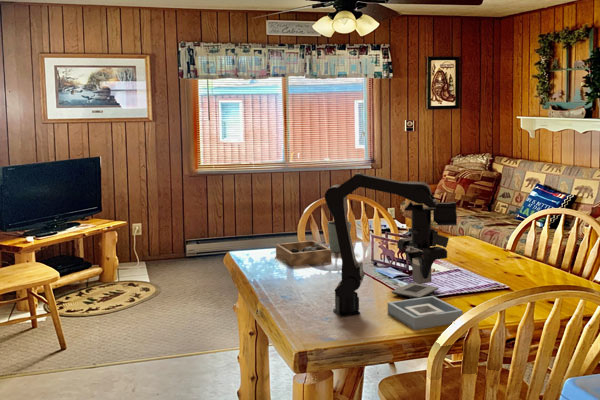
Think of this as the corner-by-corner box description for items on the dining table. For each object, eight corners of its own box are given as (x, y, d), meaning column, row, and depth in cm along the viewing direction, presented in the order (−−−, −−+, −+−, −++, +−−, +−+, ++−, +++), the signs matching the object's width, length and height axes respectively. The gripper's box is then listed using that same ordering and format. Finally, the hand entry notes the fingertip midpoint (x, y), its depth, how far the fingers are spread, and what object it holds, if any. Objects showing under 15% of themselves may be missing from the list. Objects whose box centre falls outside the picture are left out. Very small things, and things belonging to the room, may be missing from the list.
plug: (419, 284, 199) (419, 261, 198) (412, 280, 203) (412, 258, 202) (431, 282, 201) (431, 259, 200) (424, 279, 204) (423, 256, 203)
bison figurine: (325, 259, 277) (305, 255, 283) (325, 242, 276) (305, 238, 282) (308, 265, 268) (288, 261, 274) (308, 248, 267) (288, 244, 272)
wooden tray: (291, 266, 266) (291, 253, 265) (276, 255, 284) (275, 244, 283) (331, 261, 272) (331, 249, 271) (313, 251, 290) (313, 240, 289)
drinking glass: (326, 252, 288) (326, 224, 286) (329, 247, 298) (329, 220, 296) (350, 252, 286) (350, 224, 285) (352, 247, 296) (352, 220, 294)
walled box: (414, 329, 192) (414, 318, 192) (387, 313, 207) (387, 302, 206) (462, 322, 198) (462, 310, 197) (432, 306, 213) (432, 295, 212)
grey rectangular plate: (411, 288, 235) (411, 281, 234) (439, 293, 228) (439, 286, 228) (391, 297, 225) (391, 290, 224) (419, 303, 218) (419, 296, 218)
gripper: (463, 227, 194) (463, 280, 196) (427, 217, 211) (427, 266, 213) (429, 231, 190) (430, 285, 192) (396, 221, 207) (396, 271, 209)
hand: (421, 276), depth 202 cm, fingers closed on plug, 4 cm apart
